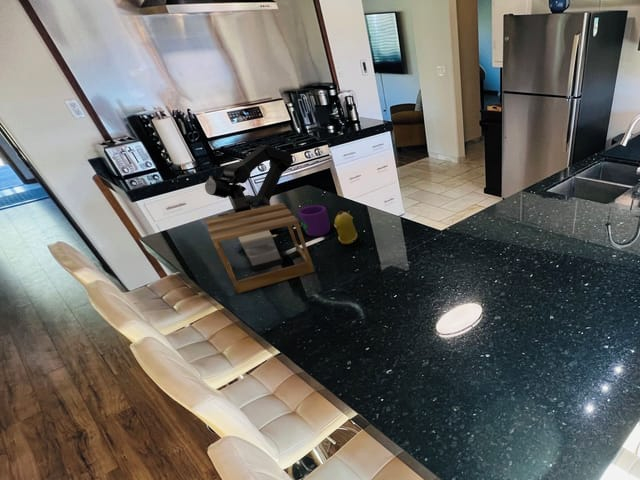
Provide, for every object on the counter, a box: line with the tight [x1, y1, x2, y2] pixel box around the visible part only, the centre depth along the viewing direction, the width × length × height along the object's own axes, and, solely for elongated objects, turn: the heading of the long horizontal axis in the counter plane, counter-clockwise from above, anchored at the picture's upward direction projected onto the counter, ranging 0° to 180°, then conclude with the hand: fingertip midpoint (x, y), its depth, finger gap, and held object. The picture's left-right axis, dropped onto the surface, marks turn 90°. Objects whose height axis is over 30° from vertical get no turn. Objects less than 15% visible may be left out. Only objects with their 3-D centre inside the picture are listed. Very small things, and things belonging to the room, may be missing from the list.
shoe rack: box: [204, 202, 316, 294], centre depth 143 cm, size 22×26×19 cm
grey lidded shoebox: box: [238, 230, 285, 272], centre depth 154 cm, size 11×16×8 cm
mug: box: [297, 204, 331, 237], centre depth 173 cm, size 17×11×10 cm, turn 44°
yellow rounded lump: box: [333, 210, 359, 245], centre depth 161 cm, size 12×8×15 cm
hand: (254, 235), depth 158 cm, fingers open, 9 cm apart
